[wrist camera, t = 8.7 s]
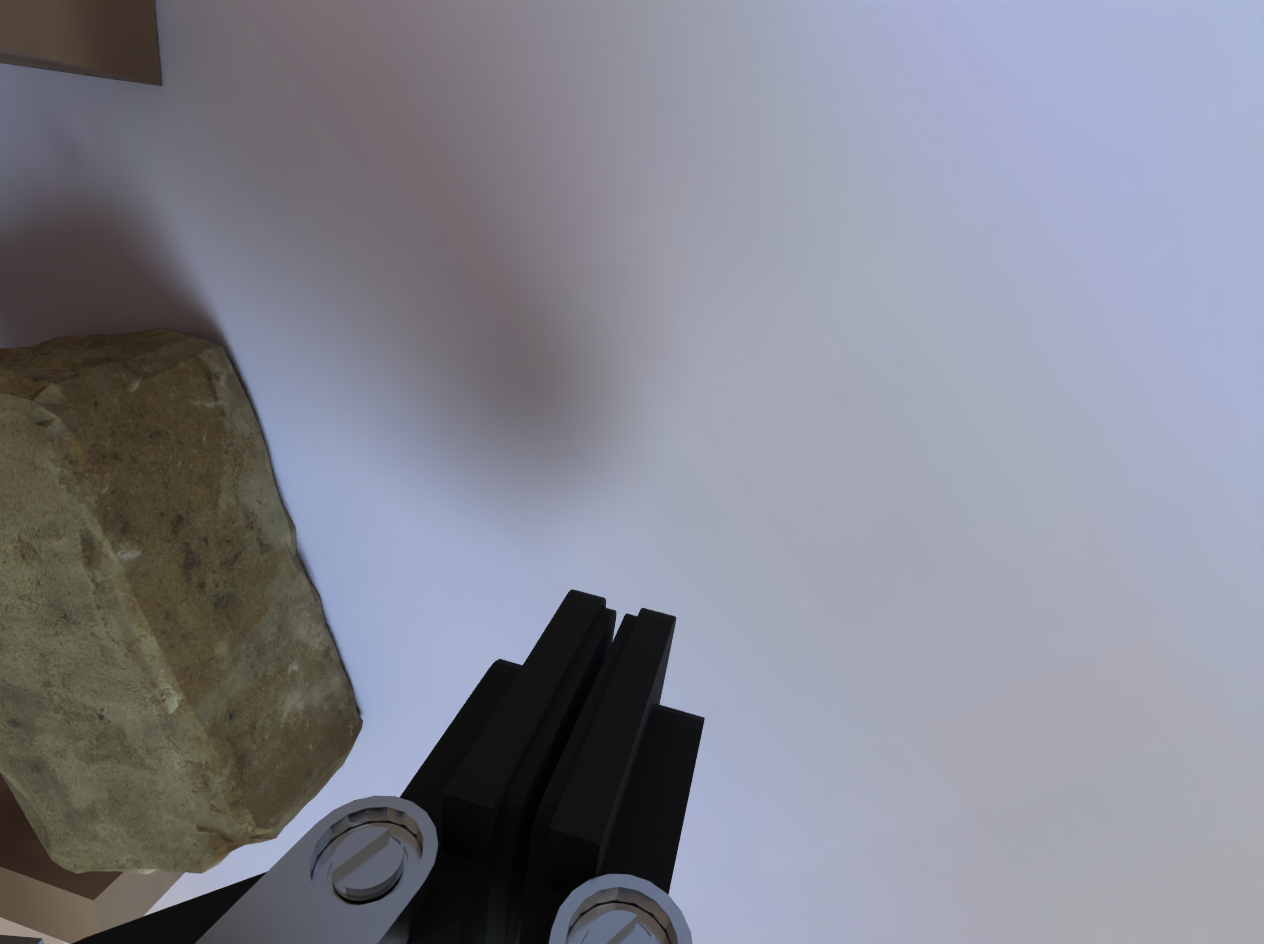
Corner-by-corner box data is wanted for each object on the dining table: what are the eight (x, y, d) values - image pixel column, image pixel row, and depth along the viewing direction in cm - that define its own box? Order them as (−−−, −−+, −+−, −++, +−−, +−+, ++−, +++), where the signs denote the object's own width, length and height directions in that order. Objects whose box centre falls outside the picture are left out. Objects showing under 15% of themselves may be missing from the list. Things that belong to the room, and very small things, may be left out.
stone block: (218, 740, 20) (42, 894, 15) (44, 351, 16) (-247, 393, 12) (388, 735, 18) (250, 905, 13) (232, 304, 15) (-19, 330, 10)
